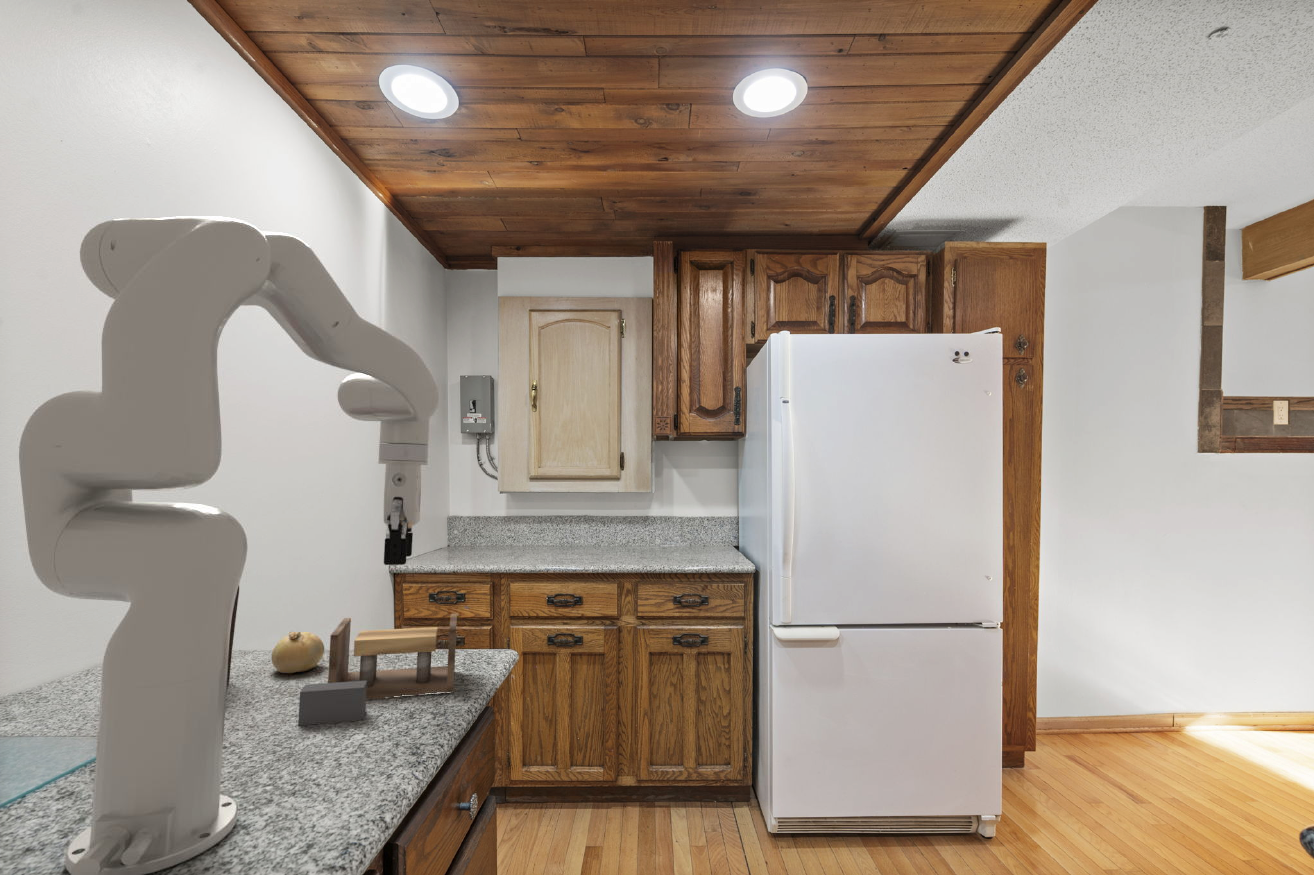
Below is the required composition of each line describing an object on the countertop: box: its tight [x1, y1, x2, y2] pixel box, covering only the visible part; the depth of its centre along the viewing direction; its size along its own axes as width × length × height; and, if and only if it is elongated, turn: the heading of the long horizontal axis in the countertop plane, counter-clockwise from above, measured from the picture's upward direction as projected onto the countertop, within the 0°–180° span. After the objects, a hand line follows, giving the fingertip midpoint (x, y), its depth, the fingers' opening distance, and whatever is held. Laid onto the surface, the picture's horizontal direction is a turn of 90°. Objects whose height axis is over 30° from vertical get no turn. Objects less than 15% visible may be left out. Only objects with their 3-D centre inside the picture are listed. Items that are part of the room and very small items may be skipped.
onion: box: [271, 631, 326, 674], centre depth 108 cm, size 8×8×7 cm
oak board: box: [353, 626, 439, 657], centre depth 101 cm, size 6×12×2 cm, turn 107°
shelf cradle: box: [327, 613, 458, 701], centre depth 101 cm, size 11×18×10 cm, turn 107°
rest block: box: [297, 680, 367, 727], centre depth 87 cm, size 3×8×4 cm, turn 107°
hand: (398, 560), depth 101 cm, fingers open, 9 cm apart
